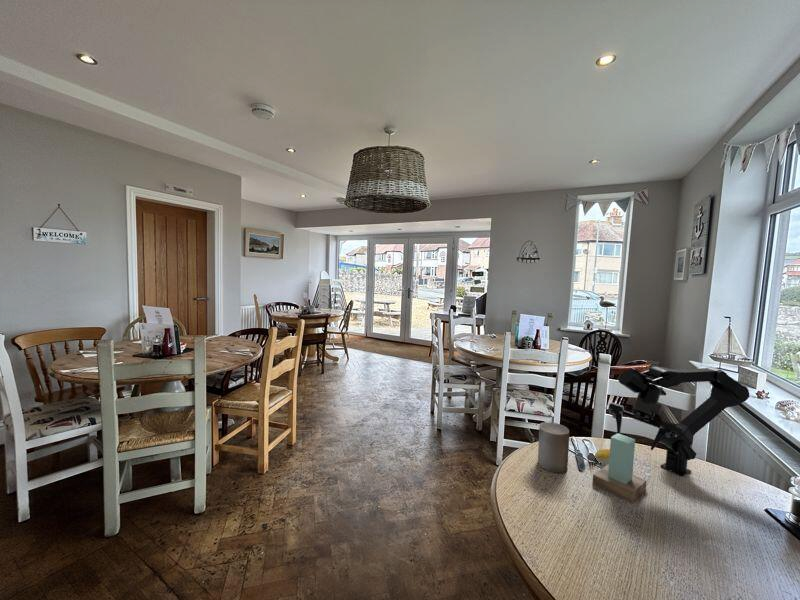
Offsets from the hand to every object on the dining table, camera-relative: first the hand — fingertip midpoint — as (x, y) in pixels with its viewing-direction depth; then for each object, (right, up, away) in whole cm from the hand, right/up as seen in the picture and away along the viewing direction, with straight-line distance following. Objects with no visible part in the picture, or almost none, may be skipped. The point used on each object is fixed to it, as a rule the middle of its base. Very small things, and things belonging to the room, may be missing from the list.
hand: (634, 442), depth 108 cm
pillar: (-7, -10, -3) cm, 12 cm away
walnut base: (-7, -13, -3) cm, 15 cm away
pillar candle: (-23, -12, +8) cm, 27 cm away
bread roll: (-1, -12, +12) cm, 17 cm away
